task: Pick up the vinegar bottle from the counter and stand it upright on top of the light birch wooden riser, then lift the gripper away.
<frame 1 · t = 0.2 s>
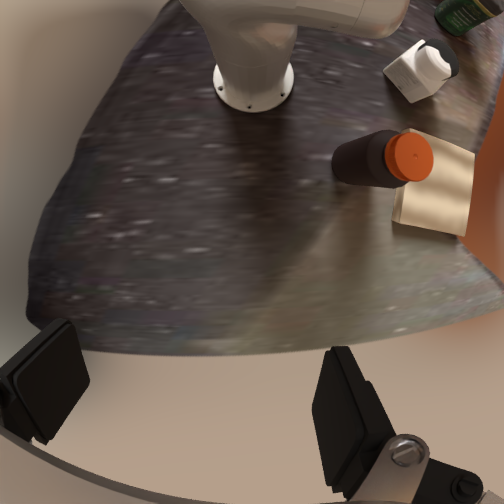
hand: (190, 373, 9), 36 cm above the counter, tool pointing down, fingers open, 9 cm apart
coffee jar: (447, 20, 32), on the counter
riser: (433, 184, 42), on the counter
container: (406, 78, 37), on the counter
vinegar: (350, 163, 42), on the counter
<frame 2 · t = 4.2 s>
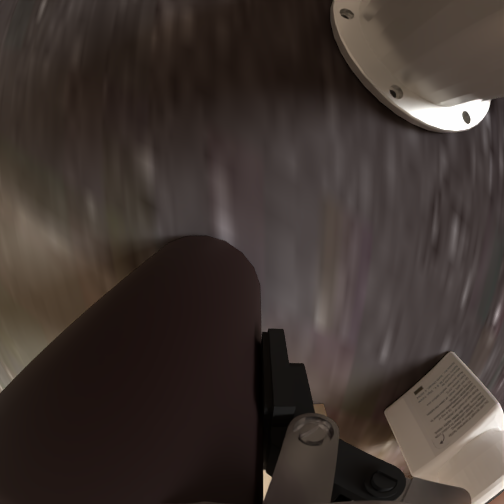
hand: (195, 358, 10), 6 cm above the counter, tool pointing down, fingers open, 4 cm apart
container: (431, 394, 19), on the counter
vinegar: (203, 289, 16), on the counter
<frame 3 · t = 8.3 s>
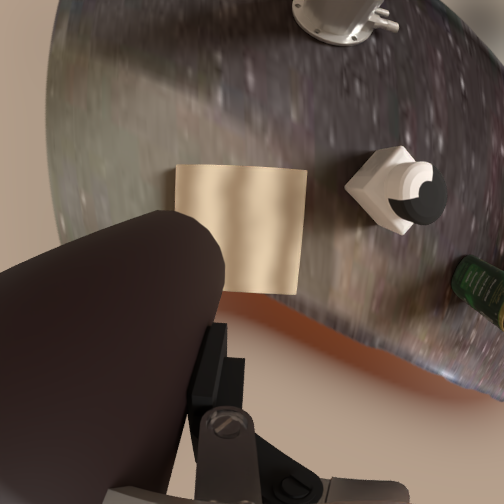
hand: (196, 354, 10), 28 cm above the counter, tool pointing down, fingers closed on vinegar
coffee jar: (466, 278, 39), on the counter
riser: (239, 227, 38), on the counter
container: (377, 187, 36), on the counter
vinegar: (170, 266, 16), point 22 cm above the counter, touching gripper
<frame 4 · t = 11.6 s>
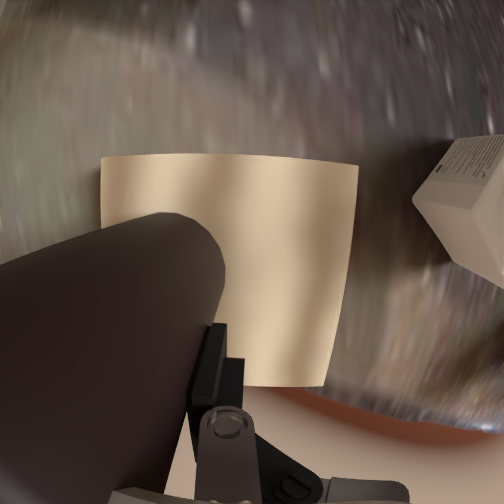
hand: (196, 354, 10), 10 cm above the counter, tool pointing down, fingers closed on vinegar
riser: (223, 271, 20), on the counter
container: (456, 200, 19), on the counter
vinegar: (170, 268, 16), point 4 cm above the counter, touching gripper
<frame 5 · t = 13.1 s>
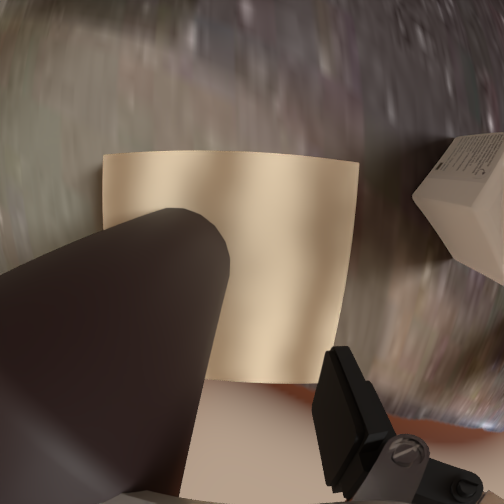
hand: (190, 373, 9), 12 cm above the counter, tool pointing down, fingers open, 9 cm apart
riser: (224, 268, 20), on the counter
container: (456, 198, 19), on the counter
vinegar: (177, 260, 17), point 3 cm above the counter, touching riser
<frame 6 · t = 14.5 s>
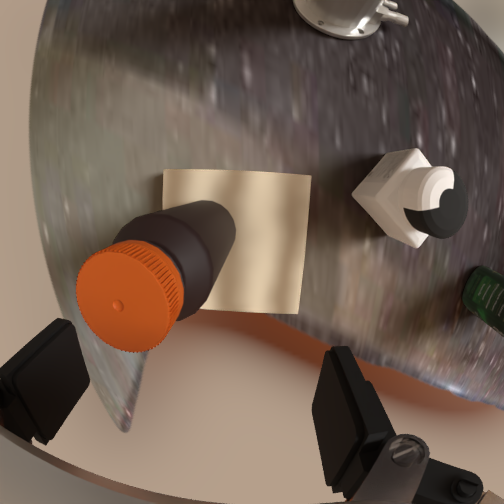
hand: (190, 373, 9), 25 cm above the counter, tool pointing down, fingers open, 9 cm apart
coffee jar: (477, 289, 36), on the counter
riser: (234, 239, 34), on the counter
container: (387, 194, 32), on the counter
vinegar: (205, 230, 31), point 3 cm above the counter, touching riser
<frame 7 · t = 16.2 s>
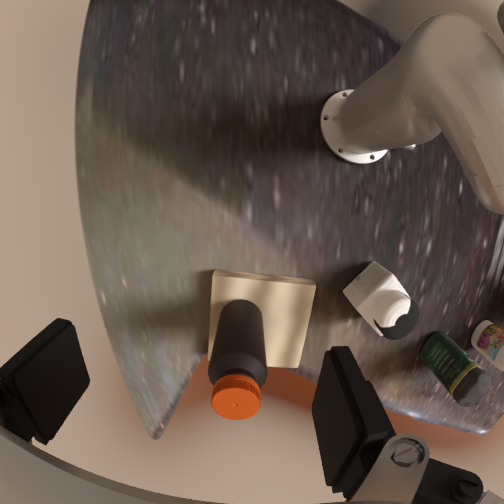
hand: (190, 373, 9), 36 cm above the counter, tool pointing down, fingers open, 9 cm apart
milk bottle: (479, 332, 50), on the counter
coffee jar: (434, 347, 50), on the counter
riser: (258, 318, 47), on the counter
container: (369, 289, 47), on the counter
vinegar: (241, 317, 44), point 3 cm above the counter, touching riser
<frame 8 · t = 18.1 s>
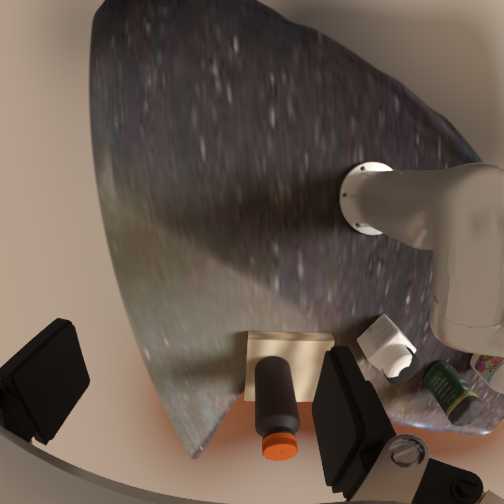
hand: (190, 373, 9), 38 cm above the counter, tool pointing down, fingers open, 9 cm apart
milk bottle: (478, 355, 54), on the counter
coffee jar: (436, 372, 55), on the counter
riser: (285, 365, 53), on the counter
container: (379, 335, 52), on the counter
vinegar: (272, 368, 50), point 3 cm above the counter, touching riser
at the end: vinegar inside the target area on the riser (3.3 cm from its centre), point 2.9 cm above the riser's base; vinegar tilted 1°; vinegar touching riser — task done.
